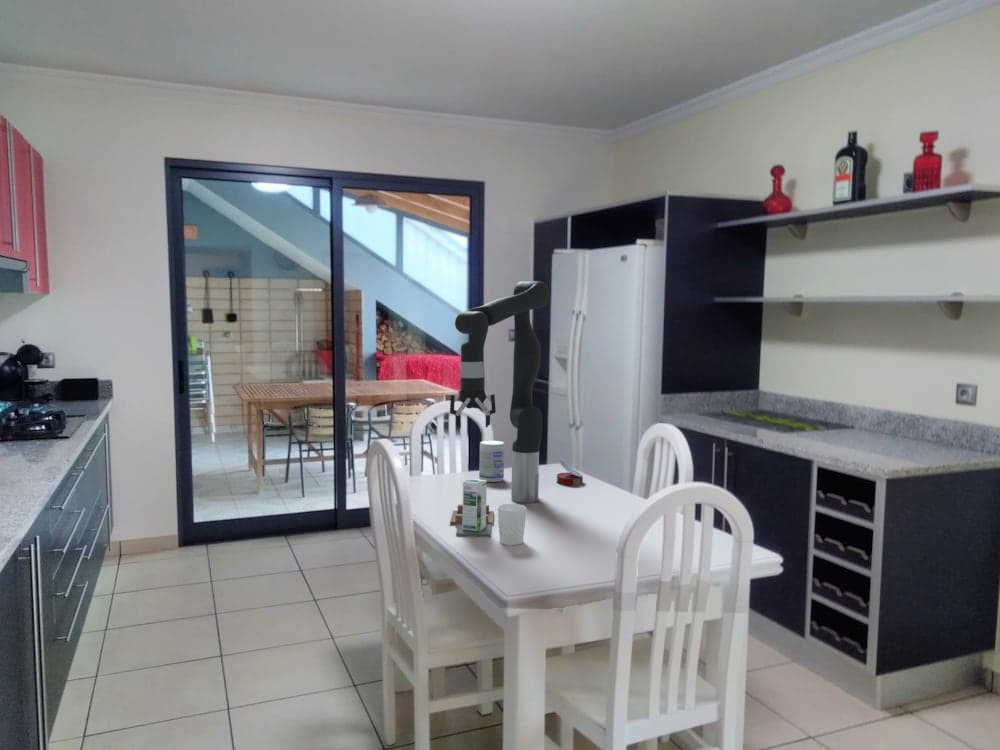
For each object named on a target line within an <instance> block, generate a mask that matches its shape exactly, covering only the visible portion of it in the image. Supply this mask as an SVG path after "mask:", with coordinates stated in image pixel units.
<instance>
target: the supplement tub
mask: <svg viewBox="0 0 1000 750" xmlns="http://www.w3.org/2000/svg"><path fill="white" fill-rule="evenodd" d="M478 470H479V473H478V475H479V476H478V477H479V478H478V479H479V480H487V483H498V482H502V481H503V480H504V476H505V472H504V471H505V441H500V440H483V441H482V440H481V441H480V442H479V468H478Z"/></svg>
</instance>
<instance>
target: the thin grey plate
mask: <svg viewBox="0 0 1000 750" xmlns="http://www.w3.org/2000/svg"><path fill="white" fill-rule="evenodd" d="M491 536H492V526H491V524H486V527H485V528H484V529H483V530H481V531H480V532H477V531H469V530H462V523H458V525H457V528H456V533H455V537H480V538H481V537H482V538H483V537H485V538H487V537H488V538H491Z"/></svg>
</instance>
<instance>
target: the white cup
mask: <svg viewBox="0 0 1000 750" xmlns="http://www.w3.org/2000/svg"><path fill="white" fill-rule="evenodd" d="M497 510H498V513H497V516H498V518H497V519H498V520H497V521H498V532H499V543H501V544H502V545H505V546H506V545H507V546H518V545H521V544H524V535H525V527H526V513H527V507H526V506H525V505H523V504H518V503H504V504H503V503H502V504H500V505H498V507H497Z"/></svg>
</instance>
